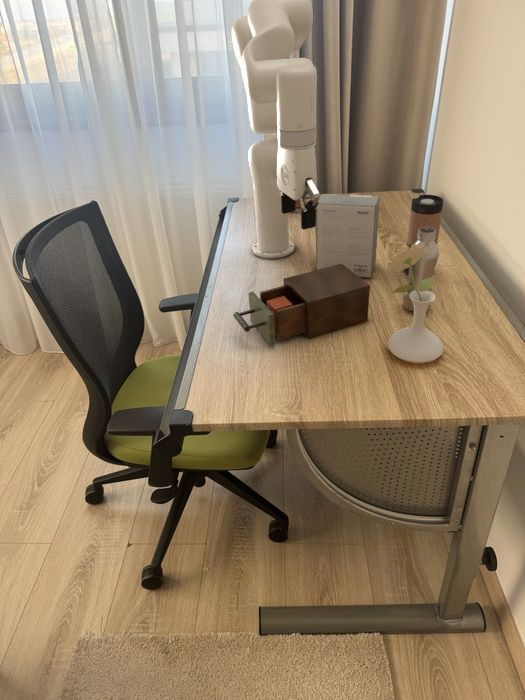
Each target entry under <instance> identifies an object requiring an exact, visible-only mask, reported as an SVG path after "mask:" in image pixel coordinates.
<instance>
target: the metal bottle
mask: <svg viewBox="0 0 525 700" xmlns="http://www.w3.org/2000/svg"><path fill="white" fill-rule="evenodd" d="M435 233H436V230H435V229H434V228H431V227H421V228H419V229H418V235H417V239H418V240H417V241H416V242H415V243H414V244H413V245H416V244H418V243H419V248H420V247H421V246H423V245H424V248H425V250H424V251H425V252H424V253H423V254H422V255H423V257H422V258H420V260H418V261H417V262H416V263H415V264H414V265H411V268H412V273H413V280H414V285H415V287H416V288H417V290H418V287H419V283H420V282H421V281H423V280H425V279H428V278H431V277H433V276H434V273H435V270H436V269H435V268H436V266H437V262H438V260H439V257H440V248H439V246H438V243H437V244H436V243H435V242H434V239H435ZM407 276H408V275H407ZM406 285H412V286H413V284H412V277H411V271H410V267H409V276H408V278H407V282H406ZM432 288H433V287H432ZM432 288H431V289H430V290H427V291H430V292H432V290H433V289H432ZM412 291H415V288H414V287H412V288H411V289H409V290H408V291H406V292H404V293H403V296H402V304H403V307H404V308H405V309H406V310H407V311H410V312H413V313H414V305H413V302H412V300H411V299H410V297H409V294H410V293H411V292H412ZM431 304H432V302H431V303H430V305H429V306H428V309H429V308H430V306H431Z"/></svg>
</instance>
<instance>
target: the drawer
mask: <svg viewBox="0 0 525 700" xmlns="http://www.w3.org/2000/svg"><path fill="white" fill-rule="evenodd" d="M247 295H248V301H249V302H248V305H249V309H248V310H244V311H240V312H238V311H234V312H233V314H232V315H233V318H234V319H235V320H236V321H237V323H238V324H239V325H240V327H241V328H242V329H243V331H244V332H245V333H249V332H250V331H251V330H252V329H255V328H256V330H257V331H258V332H259V333H260V335H261V336H262V337H263V338H264V340H265V341H266V342H267V343H268V345H269V346H270V347H271V346H273V345H276V338H277V339H278V340H279V341H281V340H283V339H287V338H290V337H293V336H297V335H301V334H303V333H304V332H307V304H306V303H305V302H304V301H303V300H302V299H301V298H300V297H299V296H298V295H297V294H296V293H295V292H294V291H293V290H292V289H291V288H290V287H289V286H288V285H284V284H283V285H281V286H277V287H273V288H270V289H266V290H263V291H259V296H258V295H257V294H256V293H255V292H254V291H249V292H248V294H247ZM282 296H285V297H286V298H287V299H288V300H289V301H290V302H291V304H292V306H290V307H287V308H283V309H280V310H277V330H275V329H274V314H273V313H272V312H271V311H270V310H269V309H268V307H267V300H271V299H274V298H278V297H282ZM246 315H250V322H251V323H252V324H251V325H249V324H248V322H247V321H246V320H245V319H244V318H243V316H246Z"/></svg>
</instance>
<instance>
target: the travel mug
mask: <svg viewBox="0 0 525 700" xmlns="http://www.w3.org/2000/svg"><path fill="white" fill-rule="evenodd" d="M443 205H444V199H443V197H441V196H438V195H435V194H420V195H419V196H417V197H412V199H411V207H410V214H409V222H408V229H407V237H406V246H409V247H410V248H411V246H412V245H413V244H414V243H415V242H416V241H417V240H418V239H417V235H418V229H419V228H421V227H431V228H434V229H435V230H436V233H435V239H434V242H435V243H436V244H437V245H438V242H439V235H440V229H441V228H440V227H441V220H442V213H443V207H444V206H443ZM404 273H405V274H406V276H409V267H408V268H405V269H404Z"/></svg>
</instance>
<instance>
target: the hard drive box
mask: <svg viewBox="0 0 525 700" xmlns="http://www.w3.org/2000/svg"><path fill="white" fill-rule="evenodd" d="M380 198H381V196H380V195H369V194H339V193H321V194H320V197H319V200H318V205H317V209H316V226H315V263H316V265H315V270H318V269H322V268H326V267H330V266H334V265H338V264H343V265H344V266H345V267H347V268H348V269H349V270H351V271H352V272H353V273H355V274H356V275H357V276H359V277H360V278H372V277H373V274H374V271H375V269H376V263H377V262H376V260H377V259H376V258H377V244H378V230H379V215H380V214H379V213H380Z"/></svg>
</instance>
